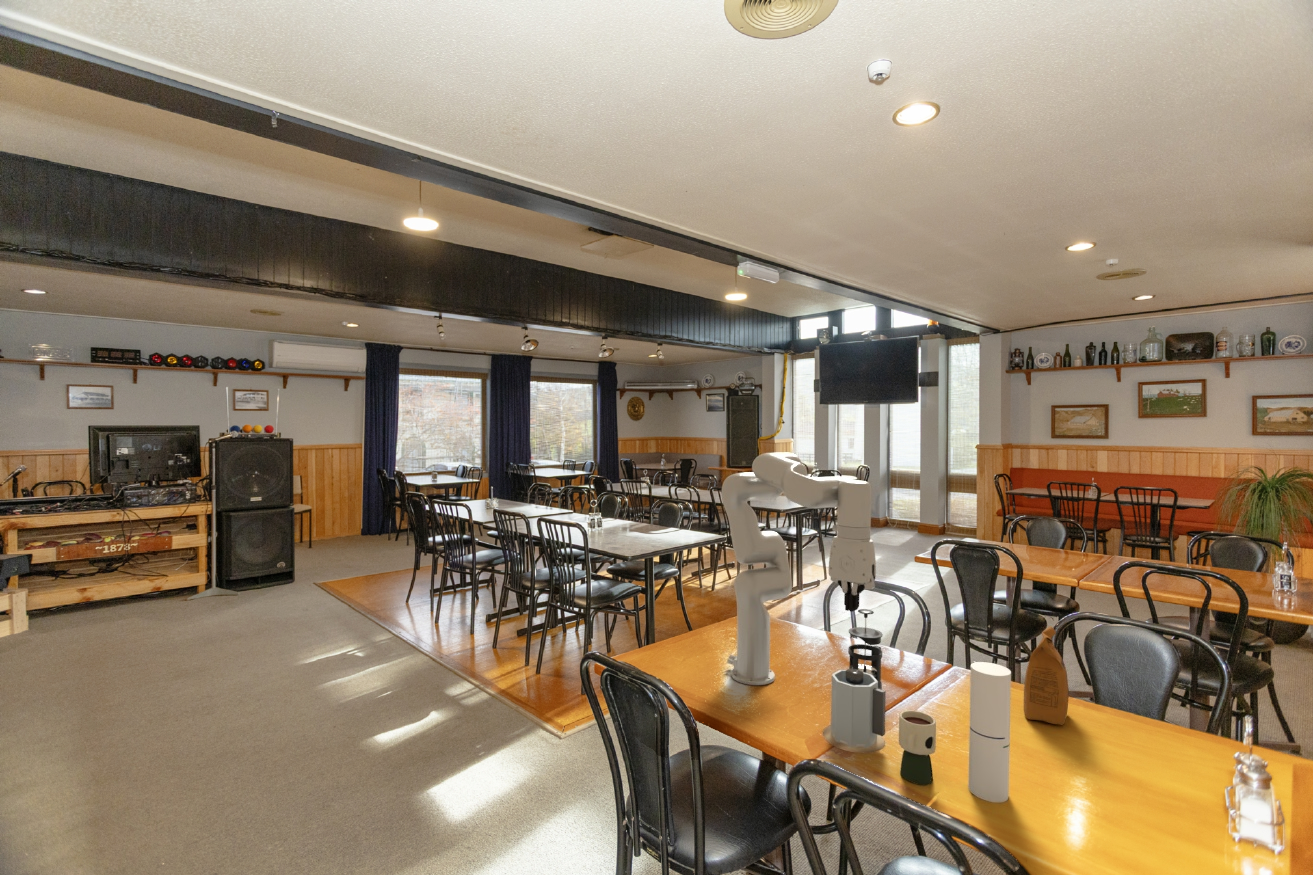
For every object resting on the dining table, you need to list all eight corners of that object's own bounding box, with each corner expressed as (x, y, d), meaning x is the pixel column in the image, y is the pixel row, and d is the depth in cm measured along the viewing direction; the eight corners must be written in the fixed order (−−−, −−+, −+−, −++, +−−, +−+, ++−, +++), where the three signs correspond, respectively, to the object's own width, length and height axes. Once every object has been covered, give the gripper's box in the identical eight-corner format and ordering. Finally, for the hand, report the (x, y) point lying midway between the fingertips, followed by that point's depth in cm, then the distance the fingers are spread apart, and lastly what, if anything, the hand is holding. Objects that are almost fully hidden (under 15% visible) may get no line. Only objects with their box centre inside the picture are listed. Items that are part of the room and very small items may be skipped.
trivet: (811, 739, 144) (811, 736, 144) (840, 719, 154) (840, 717, 154) (868, 762, 135) (868, 759, 135) (895, 739, 145) (895, 737, 145)
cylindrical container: (961, 782, 127) (963, 662, 127) (993, 780, 128) (996, 661, 128) (982, 803, 120) (984, 676, 120) (1016, 801, 121) (1019, 675, 121)
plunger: (832, 724, 144) (833, 671, 144) (847, 714, 149) (847, 663, 149) (860, 735, 140) (861, 680, 139) (874, 724, 145) (875, 672, 144)
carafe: (824, 736, 144) (825, 677, 144) (844, 722, 151) (845, 666, 151) (873, 756, 136) (874, 693, 136) (892, 740, 143) (893, 680, 143)
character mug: (928, 798, 122) (929, 732, 122) (891, 785, 126) (892, 722, 126) (940, 773, 131) (941, 712, 130) (905, 762, 135) (906, 703, 135)
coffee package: (1072, 713, 159) (1074, 629, 159) (1065, 731, 150) (1067, 641, 149) (1028, 702, 166) (1029, 621, 165) (1019, 718, 156) (1020, 632, 156)
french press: (867, 703, 164) (869, 617, 163) (838, 691, 171) (839, 609, 171) (893, 693, 171) (894, 610, 170) (863, 681, 178) (864, 602, 178)
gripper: (817, 530, 148) (815, 605, 148) (876, 539, 137) (874, 620, 138) (832, 526, 153) (830, 599, 154) (891, 535, 143) (889, 613, 143)
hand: (851, 609), depth 146 cm, fingers closed
